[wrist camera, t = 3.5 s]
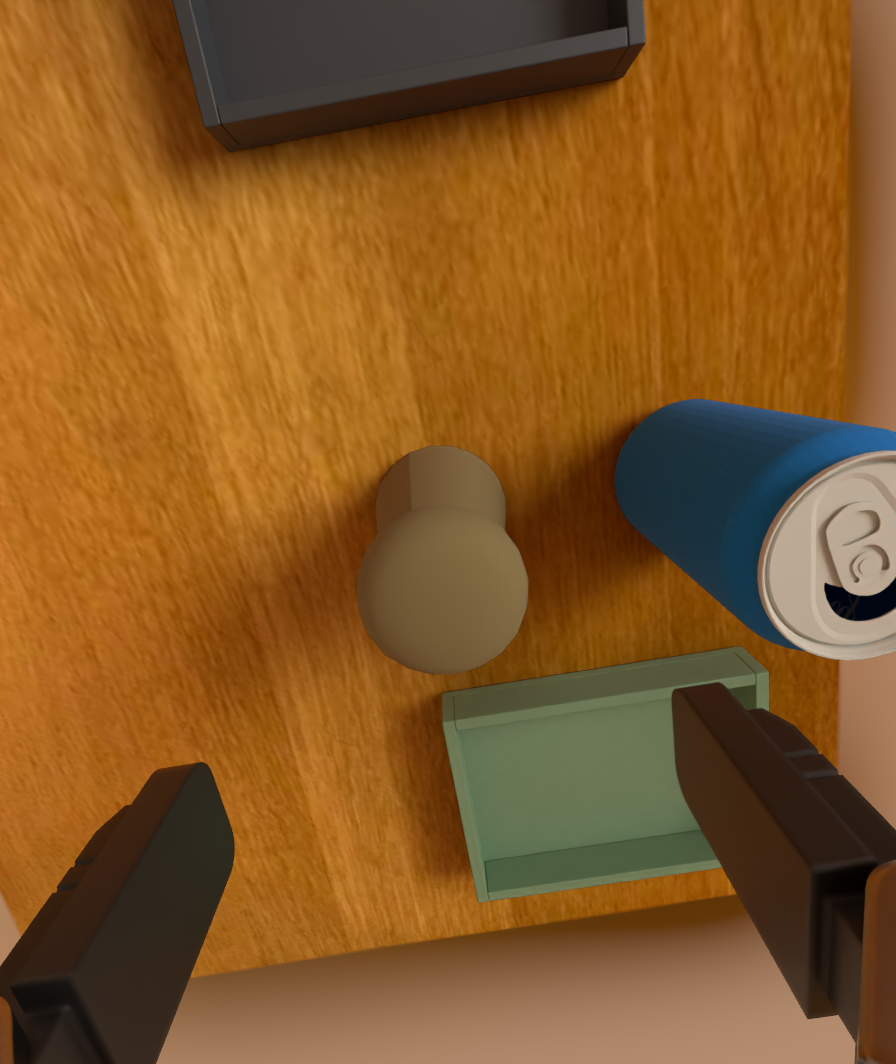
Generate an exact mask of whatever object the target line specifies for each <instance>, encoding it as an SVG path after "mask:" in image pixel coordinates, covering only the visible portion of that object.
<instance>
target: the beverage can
mask: <svg viewBox="0 0 896 1064" xmlns="http://www.w3.org/2000/svg"><path fill="white" fill-rule="evenodd" d="M614 481H615V492H616V497H617V501H618V504H619V506H620V509H621V510H622V512H623V514H624V516H625V517H626V519H627V520H628V521H629V523H630V524H631V525H632V526H633V527H634V528H635V529H636V530H637V531H639V532H640V533H641V534H642V535H643V536H644V537H645V538H647V539H648V540H649V541H650V542H651V543H652V544H653V545H655V546H656V547H657V548H658V549H659V550H660V551H661V552H663V553H664V554H665V555H666V556H667V557H668V558H669V559H671V560H672V561H673V562H674V563H675V564H676V565H677V566H679V567H680V568H681V569H682V570H683V571H684V572H685V573H687V574H688V575H689V576H690V577H691V578H692V579H693V580H695V581H696V582H697V583H698V584H699V585H700V586H701V587H703V588H704V589H705V590H706V591H707V592H708V593H709V594H711V595H712V596H713V597H714V598H715V599H716V600H717V601H719V602H720V603H721V604H722V605H723V606H724V607H725V608H726V609H728V610H729V611H730V612H731V613H732V614H733V615H734V616H736V617H737V618H738V619H739V620H740V621H741V622H742V623H744V624H745V625H746V626H747V627H748V628H750V629H751V630H752V631H753V632H755V633H756V634H757V635H759V636H761V637H763V638H764V639H766V640H768V641H770V642H773V643H775V644H778V645H780V646H783V647H786V648H791V649H795V650H799V651H807V652H809V653H812V654H814V655H817V656H820V657H825V658H829V659H836V660H861V659H869V658H874V657H878V656H882V655H886V654H888V653H891V652H894V651H896V432H893V431H889V430H886V429H882V428H875V427H869V426H863V425H857V424H851V423H845V422H839V421H833V420H827V419H821V418H815V417H809V416H803V415H797V414H791V413H785V412H778V411H772V410H766V409H760V408H754V407H748V406H742V405H736V404H730V403H724V402H718V401H712V400H704V399H691V400H684V401H679V402H676V403H672V404H670V405H667V406H665V407H662V408H661V409H659V410H657V411H655V412H654V413H652V414H651V415H649V416H648V417H647V418H645V419H644V420H643V421H642V422H641V423H640V424H639V425H638V426H637V427H636V428H635V429H634V430H633V432H632V433H631V434H630V435H629V437H628V438H627V440H626V442H625V443H624V445H623V447H622V449H621V451H620V454H619V457H618V460H617V464H616V469H615V479H614Z"/></svg>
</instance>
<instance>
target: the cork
mask: <svg viewBox="0 0 896 1064" xmlns="http://www.w3.org/2000/svg"><path fill="white" fill-rule="evenodd" d="M375 507H376V524H377V535H376V537H375V538H374V540H373V541H372V543H371V544H370V545H369V547H368V548H367V550H366V551H365V554H364V556H363V559H362V562H361V566H360V570H359V573H358V577H357V580H356V589H357V603H358V610H359V613H360V616H361V618H362V621H363V623H364V625H365V628H366V630H367V632H368V635H369V637H370V638H371V639H372V640H373V641H374V642H375V644H376V645H377V646H378V647H379V648H380V649H381V650H382V652H383V653H384V654H385V655H386V656H388V657H390V658H391V659H393V660H395V661H396V662H398V663H400V664H401V665H403V666H405V667H406V668H409V669H413V670H417V671H421V672H424V673H428V674H432V675H435V674H458V673H461V672H464V671H468V670H471V669H474V668H477V667H480V666H482V665H484V664H485V663H487V662H488V661H490V660H491V659H493V658H494V657H496V656H497V655H499V654H500V653H502V652H503V650H504V649H505V648H506V647H507V645H508V644H509V643H510V642H511V641H512V639H513V638H514V637H515V636H516V634H517V633H518V630H519V628H520V625H521V622H522V620H523V617H524V614H525V612H526V608H527V604H528V576H527V573H526V570H525V566H524V563H523V560H522V557H521V554H520V552H519V550H518V548H517V546H516V545H515V544H514V542H513V541H512V540H511V538H510V537H509V536H508V535H507V533H506V532H505V525H506V498H505V495H504V492H503V489H502V486H501V482H500V480H499V479H498V477H497V476H496V475H495V473H494V472H493V471H492V469H491V468H490V466H489V465H488V464H487V463H486V462H484V461H483V460H481V459H480V458H478V457H477V456H476V455H474V454H473V453H471V452H469V451H466V450H462V449H459V448H456V447H453V446H428V447H425V448H422V449H419V450H417V451H414V452H411V453H408V454H407V455H406V456H404V457H403V458H402V459H401V460H399V461H398V462H397V463H395V464H394V465H393V466H392V467H391V468H390V470H389V471H388V473H387V474H386V476H385V477H384V479H383V480H382V482H381V483H380V487H379V491H378V494H377V498H376V502H375Z"/></svg>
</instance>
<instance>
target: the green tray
mask: <svg viewBox="0 0 896 1064" xmlns="http://www.w3.org/2000/svg"><path fill="white" fill-rule="evenodd" d="M716 682H720V683H722V684H724V685H725V686H726V687H727V689H728V690H729V691H730V692H731V693H732V694H733V695H734V697H735V698H736V699H737V700H738V701H739V702H740V703H741V704H742V706H743V707H744V708H745V709H746V710H751V709H758V708H763V709H765V710H767V711H769V672H768V671H767V670H766V669H765V668H764V667H763V666H762V665H761V664H760V663H759V662H758V661H757V660H756V659H754V658H753V657H752V656H751V655H750V654H749V653H748V652H747V651H746V650H745V649H744V648H743V647H742V646H738V647H732V648H725V649H719V650H713V651H706V652H700V653H694V654H687V655H681V656H674V657H668V658H662V659H655V660H649V661H643V662H636V663H630V664H624V665H617V666H611V667H604V668H598V669H592V670H585V671H579V672H573V673H566V674H560V675H553V676H547V677H541V678H534V679H528V680H522V681H515V682H509V683H502V684H496V685H490V686H483V687H477V688H471V689H464V690H458V691H451V692H445V693H442V726H443V731H444V736H445V741H446V746H447V751H448V756H449V761H450V766H451V771H452V776H453V781H454V786H455V791H456V796H457V801H458V806H459V811H460V816H461V821H462V826H463V831H464V836H465V841H466V846H467V851H468V856H469V861H470V866H471V871H472V876H473V881H474V886H475V891H476V896H477V901H478V902H479V903H480V902H487V901H494V900H501V899H508V898H515V897H522V896H529V895H536V894H542V893H549V892H556V891H563V890H570V889H577V888H584V887H591V886H598V885H605V884H612V883H619V882H625V881H632V880H639V879H646V878H653V877H660V876H667V875H674V874H681V873H688V872H695V871H702V870H708V869H715V868H722V866H721V864H720V862H719V861H718V859H717V857H716V855H715V854H714V852H713V850H712V848H711V846H710V845H709V843H708V841H707V839H706V838H705V836H704V834H703V832H702V830H701V829H700V827H699V825H698V823H697V822H696V820H695V818H694V816H693V814H692V813H691V811H690V809H689V807H688V805H687V803H686V801H685V799H684V797H683V794H682V791H681V788H680V785H679V782H678V778H677V773H676V767H675V753H674V737H673V720H672V703H671V697H672V692H673V690H674V689H678V688H684V687H690V686H697V685H703V684H709V683H716Z"/></svg>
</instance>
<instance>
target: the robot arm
mask: <svg viewBox="0 0 896 1064" xmlns="http://www.w3.org/2000/svg"><path fill="white" fill-rule="evenodd" d="M671 703H672V720H673V737H674V753H675V767H676V773H677V778H678V782H679V785H680V788H681V791H682V794H683V797H684V799H685V801H686V803H687V805H688V807H689V809H690V811H691V813H692V814H693V816H694V818H695V820H696V822H697V823H698V825H699V827H700V829H701V830H702V832H703V834H704V836H705V838H706V839H707V841H708V843H709V845H710V846H711V848H712V850H713V852H714V854H715V855H716V857H717V859H718V861H719V862H720V864H721V866H722V868H723V870H724V871H725V873H726V875H727V877H728V878H729V880H730V882H731V884H732V886H733V887H734V889H735V891H736V893H737V894H738V896H739V898H740V900H741V902H742V903H743V905H744V907H745V908H746V910H747V912H748V914H749V916H750V918H751V919H752V921H753V923H754V925H755V926H756V928H757V930H758V932H759V934H760V935H761V937H762V939H763V941H764V943H765V944H766V946H767V948H768V949H769V951H770V953H771V955H772V957H773V958H774V960H775V962H776V964H777V965H778V967H779V969H780V971H781V973H782V974H783V976H784V978H785V980H786V982H787V983H788V985H789V987H790V988H791V990H792V992H793V994H794V996H795V998H796V999H797V1001H798V1003H799V1005H800V1006H801V1008H802V1010H803V1012H804V1013H805V1015H806V1017H807V1019H813V1018H820V1017H827V1016H834V1015H839V1017H840V1018H841V1020H842V1021H843V1023H844V1025H845V1026H846V1028H847V1030H848V1031H849V1033H850V1034H851V1036H852V1038H853V1039H854V1041H855V1043H856V1046H855V1062H854V1064H896V830H895V829H894V828H893V827H892V826H891V825H890V824H889V823H888V822H887V821H886V820H885V819H884V818H883V816H882V815H881V814H879V812H878V811H877V810H876V809H875V808H874V807H873V806H872V805H871V804H870V803H869V802H868V801H867V800H866V799H865V798H864V797H863V796H862V795H861V794H860V793H859V792H858V791H857V790H856V789H855V788H854V787H853V786H852V785H851V784H850V783H849V782H848V780H847V779H846V778H845V777H844V776H843V775H839V774H838V772H837V769H836V768H835V767H834V766H833V765H832V764H831V763H830V762H829V761H828V760H827V759H826V758H825V757H824V756H823V755H822V754H820V755H819V753H818V751H817V749H816V747H815V746H814V745H813V744H812V743H811V742H810V741H809V740H808V739H807V738H806V737H805V736H804V735H803V734H802V733H801V732H800V731H799V730H798V729H797V728H796V727H795V726H794V725H792V724H790V723H789V722H787V721H785V720H783V719H781V718H780V717H778V716H776V715H774V714H772V713H771V712H769V711H767V710H765V709H763V708H758V709H751V710H746V709H745V708H744V707H743V706H742V704H741V703H740V702H739V701H738V700H737V699H736V698H735V697H734V695H733V694H732V693H731V692H730V691H729V690H728V689H727V687H726V686H725V685H724V684H722V683H720V682H716V683H709V684H703V685H697V686H690V687H684V688H678V689H674V690H673V692H672V697H671ZM234 850H235V848H234V836H233V832H232V828H231V825H230V823H229V820H228V817H227V814H226V811H225V808H224V805H223V803H222V800H221V797H220V794H219V791H218V788H217V785H216V783H215V780H214V777H213V774H212V772H211V769H210V768H209V766H208V765H207V764H206V763H203V762H199V763H193V764H187V765H180V766H174V767H168V768H161V769H158V770H156V771H155V772H154V773H153V774H152V775H151V776H150V778H149V779H148V781H147V782H146V784H145V785H144V787H143V788H142V790H141V791H140V793H139V794H138V796H137V797H136V799H135V800H134V801H133V803H132V804H131V805H126V806H124V807H123V808H122V809H121V810H120V811H119V812H118V813H117V814H115V815H114V816H113V817H112V818H111V819H110V820H109V821H108V822H106V823H105V824H104V825H103V826H102V827H101V828H100V829H99V830H98V831H96V832H95V834H94V835H93V837H92V838H91V839H90V841H89V842H88V844H87V845H86V847H85V848H84V849H83V851H82V852H81V854H80V855H79V856H78V858H77V859H76V861H75V866H74V867H71V868H70V869H69V870H68V872H67V873H66V875H65V876H64V878H63V879H62V880H61V882H60V883H59V885H58V886H57V892H56V893H52V894H51V896H50V897H49V899H48V900H47V901H46V903H45V904H44V906H43V907H42V909H41V910H40V911H39V913H38V914H37V916H36V917H35V918H34V920H33V921H32V923H31V924H30V925H29V927H28V928H27V930H26V931H25V932H24V934H23V935H22V937H21V938H20V940H19V941H18V942H17V944H16V945H15V947H14V948H13V949H12V951H11V953H10V954H9V955H8V956H7V958H6V959H5V961H4V962H3V964H2V965H1V966H0V1064H156V1062H157V1060H158V1057H159V1054H160V1052H161V1049H162V1047H163V1044H164V1041H165V1039H166V1037H167V1034H168V1031H169V1029H170V1026H171V1024H172V1021H173V1019H174V1016H175V1014H176V1011H177V1009H178V1006H179V1004H180V1001H181V999H182V996H183V993H184V991H185V988H186V986H187V983H188V981H189V978H190V976H191V973H192V971H193V968H194V965H195V963H196V960H197V958H198V955H199V953H200V950H201V948H202V945H203V943H204V940H205V937H206V935H207V932H208V930H209V927H210V925H211V922H212V920H213V917H214V915H215V912H216V909H217V907H218V904H219V902H220V899H221V897H222V894H223V892H224V889H225V887H226V884H227V881H228V879H229V876H230V874H231V871H232V867H233V861H234Z"/></svg>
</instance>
